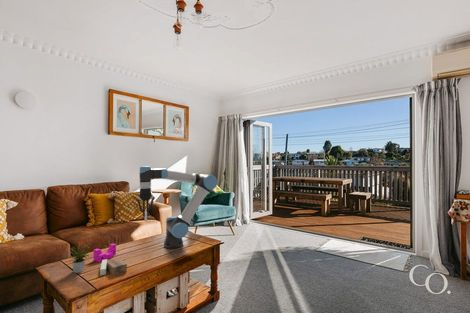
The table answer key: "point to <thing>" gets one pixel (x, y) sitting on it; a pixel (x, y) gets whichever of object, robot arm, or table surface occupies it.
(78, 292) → the table surface
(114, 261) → the walnut block
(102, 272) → the board
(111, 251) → the magenta arch bracket
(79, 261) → the house plant
